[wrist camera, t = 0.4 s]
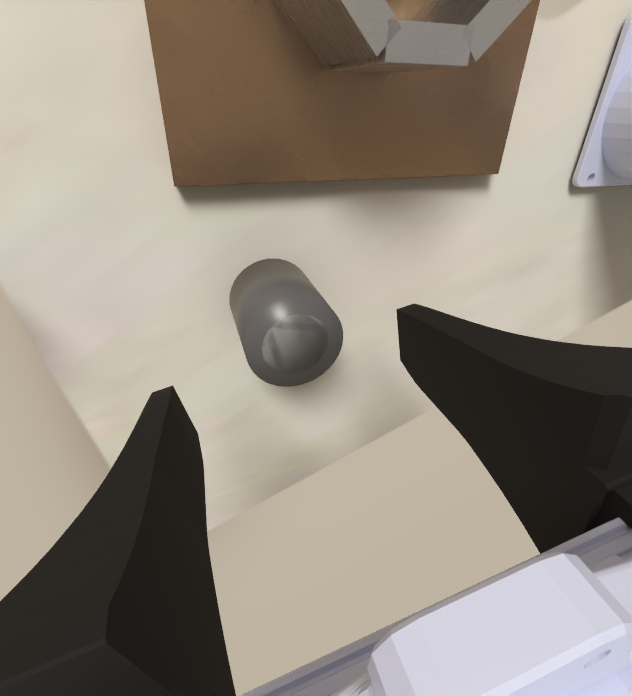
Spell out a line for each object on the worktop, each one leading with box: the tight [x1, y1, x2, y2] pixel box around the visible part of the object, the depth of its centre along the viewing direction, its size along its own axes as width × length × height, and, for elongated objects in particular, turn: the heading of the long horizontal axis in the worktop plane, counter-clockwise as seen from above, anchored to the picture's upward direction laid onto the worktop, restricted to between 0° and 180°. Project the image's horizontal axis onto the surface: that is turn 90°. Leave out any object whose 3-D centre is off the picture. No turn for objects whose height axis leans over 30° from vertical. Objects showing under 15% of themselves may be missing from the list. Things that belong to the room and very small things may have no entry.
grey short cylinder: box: [230, 259, 343, 386], centre depth 19 cm, size 4×4×5 cm
